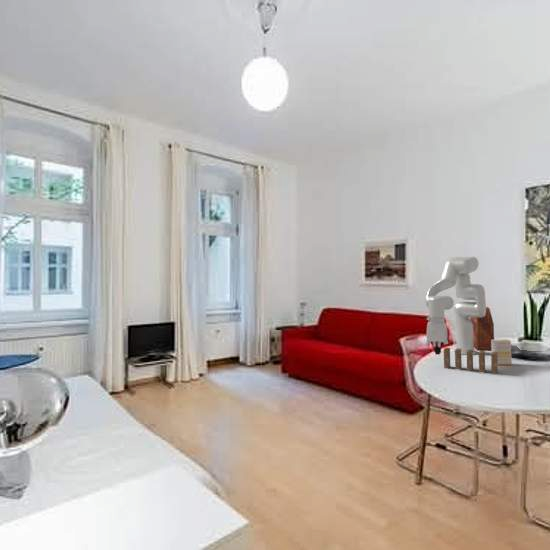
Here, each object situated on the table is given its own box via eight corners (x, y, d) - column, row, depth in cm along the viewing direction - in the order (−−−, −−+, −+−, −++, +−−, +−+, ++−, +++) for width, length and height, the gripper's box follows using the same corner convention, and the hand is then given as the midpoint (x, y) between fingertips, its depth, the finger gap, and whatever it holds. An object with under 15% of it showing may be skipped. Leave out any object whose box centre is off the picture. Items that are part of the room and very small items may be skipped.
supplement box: (507, 363, 210) (506, 339, 210) (511, 365, 205) (511, 340, 205) (491, 363, 211) (490, 339, 211) (495, 365, 206) (495, 340, 206)
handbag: (487, 345, 261) (485, 293, 262) (494, 350, 243) (492, 295, 243) (470, 345, 264) (468, 294, 265) (476, 350, 246) (474, 295, 246)
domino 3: (467, 370, 197) (466, 351, 197) (469, 368, 201) (468, 349, 201) (471, 371, 196) (470, 351, 196) (473, 369, 200) (472, 349, 200)
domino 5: (491, 373, 190) (491, 353, 190) (493, 371, 194) (492, 351, 194) (496, 374, 189) (495, 353, 189) (497, 371, 193) (497, 352, 193)
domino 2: (455, 369, 200) (454, 350, 200) (457, 367, 204) (457, 348, 204) (459, 369, 199) (459, 350, 199) (461, 367, 203) (461, 348, 203)
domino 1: (444, 368, 203) (443, 349, 203) (446, 366, 207) (445, 347, 207) (448, 368, 202) (447, 349, 202) (450, 366, 206) (449, 347, 206)
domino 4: (479, 372, 193) (478, 352, 193) (480, 370, 198) (480, 350, 197) (483, 372, 192) (483, 352, 192) (485, 370, 196) (484, 350, 196)
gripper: (420, 320, 209) (421, 353, 209) (449, 321, 200) (450, 356, 200) (424, 318, 215) (425, 351, 215) (453, 319, 206) (454, 354, 206)
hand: (437, 354), depth 208 cm, fingers closed
